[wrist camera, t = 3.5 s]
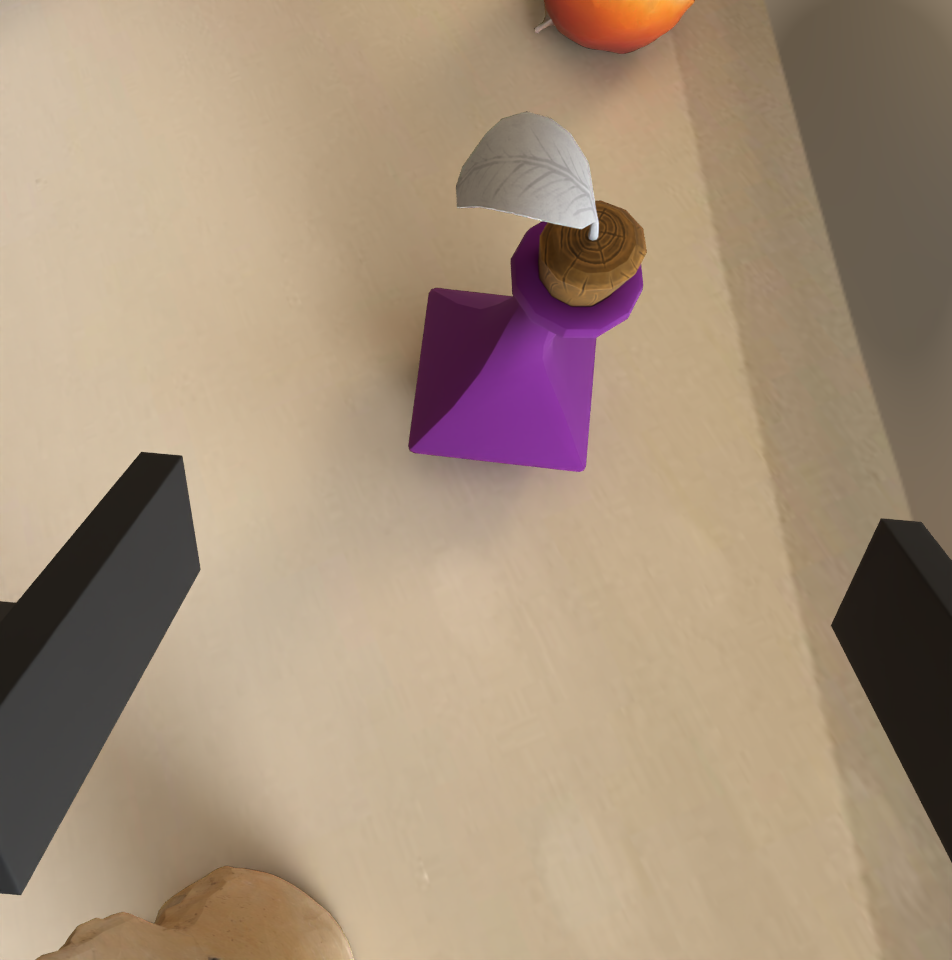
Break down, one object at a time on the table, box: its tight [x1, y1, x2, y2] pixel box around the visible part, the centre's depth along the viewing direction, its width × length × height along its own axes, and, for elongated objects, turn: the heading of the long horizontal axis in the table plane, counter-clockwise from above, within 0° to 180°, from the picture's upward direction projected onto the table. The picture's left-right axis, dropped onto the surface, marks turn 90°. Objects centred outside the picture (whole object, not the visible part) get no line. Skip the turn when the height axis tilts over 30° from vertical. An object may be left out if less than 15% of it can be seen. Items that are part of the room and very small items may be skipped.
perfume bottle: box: [408, 112, 647, 472], centre depth 26 cm, size 8×8×18 cm
